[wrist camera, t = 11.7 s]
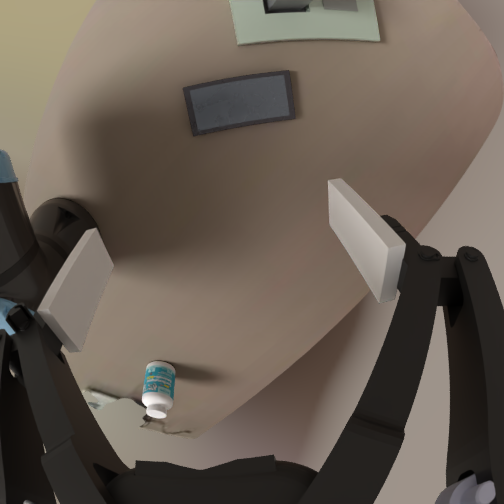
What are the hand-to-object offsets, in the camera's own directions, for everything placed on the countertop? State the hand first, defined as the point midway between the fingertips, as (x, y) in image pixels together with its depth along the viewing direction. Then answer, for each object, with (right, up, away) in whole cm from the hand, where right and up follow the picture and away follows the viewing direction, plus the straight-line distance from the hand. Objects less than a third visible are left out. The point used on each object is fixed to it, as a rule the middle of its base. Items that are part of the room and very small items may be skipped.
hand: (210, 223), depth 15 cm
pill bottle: (-21, -30, +51) cm, 62 cm away
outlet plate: (+9, +33, +11) cm, 36 cm away
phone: (+1, +19, +20) cm, 27 cm away
